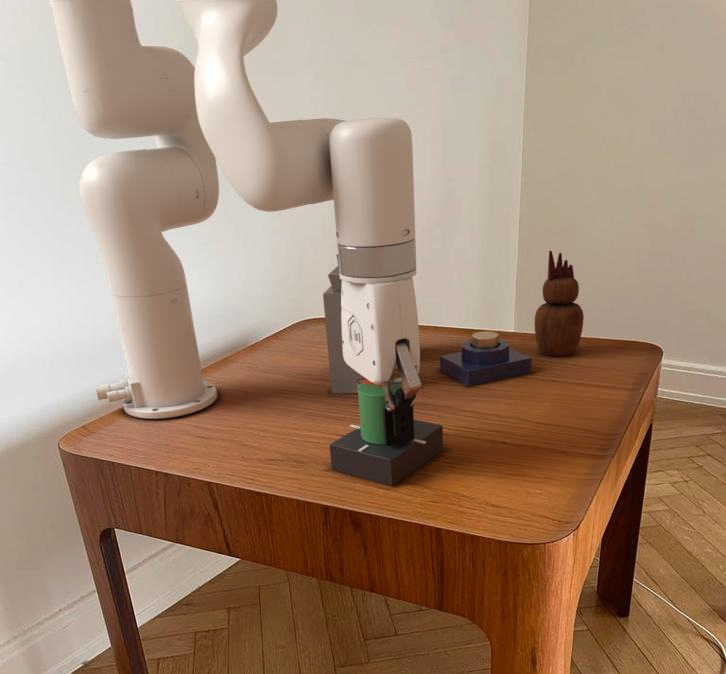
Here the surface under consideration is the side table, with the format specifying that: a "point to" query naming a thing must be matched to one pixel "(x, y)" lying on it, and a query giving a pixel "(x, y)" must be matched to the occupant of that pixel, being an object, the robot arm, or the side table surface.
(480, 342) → the button
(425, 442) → the knob base
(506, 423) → the side table surface
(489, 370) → the button block
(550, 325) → the wooden figurine
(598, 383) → the side table surface
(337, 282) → the perfume bottle
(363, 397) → the green rotary knob
